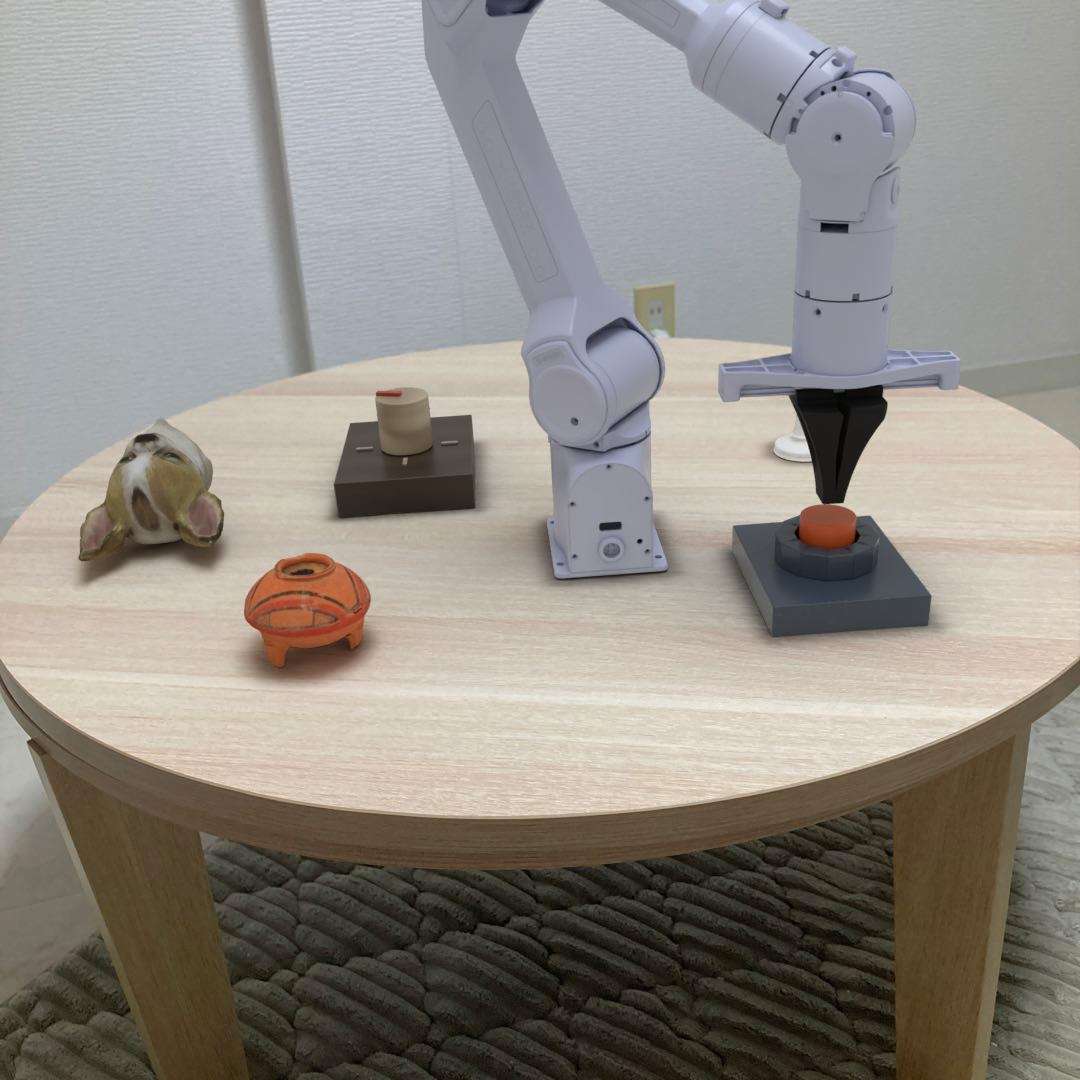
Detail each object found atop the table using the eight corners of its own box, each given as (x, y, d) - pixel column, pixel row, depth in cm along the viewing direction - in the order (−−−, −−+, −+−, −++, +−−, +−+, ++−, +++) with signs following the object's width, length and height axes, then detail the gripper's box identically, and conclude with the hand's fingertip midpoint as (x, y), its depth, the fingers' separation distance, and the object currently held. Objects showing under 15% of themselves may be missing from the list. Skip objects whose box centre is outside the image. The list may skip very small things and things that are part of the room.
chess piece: (827, 440, 101) (834, 330, 96) (835, 461, 96) (842, 347, 92) (771, 441, 101) (775, 331, 97) (776, 462, 97) (780, 348, 92)
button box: (928, 625, 72) (935, 569, 70) (771, 637, 72) (774, 581, 70) (868, 542, 83) (872, 492, 81) (731, 552, 82) (733, 502, 81)
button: (861, 549, 74) (863, 524, 73) (807, 553, 74) (808, 528, 73) (845, 525, 77) (847, 502, 76) (792, 529, 77) (794, 506, 76)
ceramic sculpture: (223, 392, 93) (204, 471, 80) (242, 487, 97) (227, 576, 84) (89, 406, 92) (48, 489, 79) (115, 501, 96) (80, 594, 83)
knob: (439, 437, 98) (434, 384, 96) (424, 456, 94) (418, 401, 92) (390, 436, 99) (384, 383, 97) (373, 455, 95) (367, 400, 93)
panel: (475, 508, 92) (472, 471, 90) (338, 517, 91) (333, 481, 90) (474, 445, 104) (471, 412, 103) (353, 453, 104) (349, 421, 102)
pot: (229, 634, 75) (236, 537, 73) (345, 630, 78) (355, 537, 76) (253, 690, 68) (262, 585, 66) (379, 682, 71) (391, 583, 69)
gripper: (942, 268, 72) (922, 468, 78) (712, 281, 72) (709, 479, 78) (982, 296, 65) (957, 511, 71) (730, 310, 66) (725, 523, 71)
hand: (829, 497), depth 74 cm, fingers closed
